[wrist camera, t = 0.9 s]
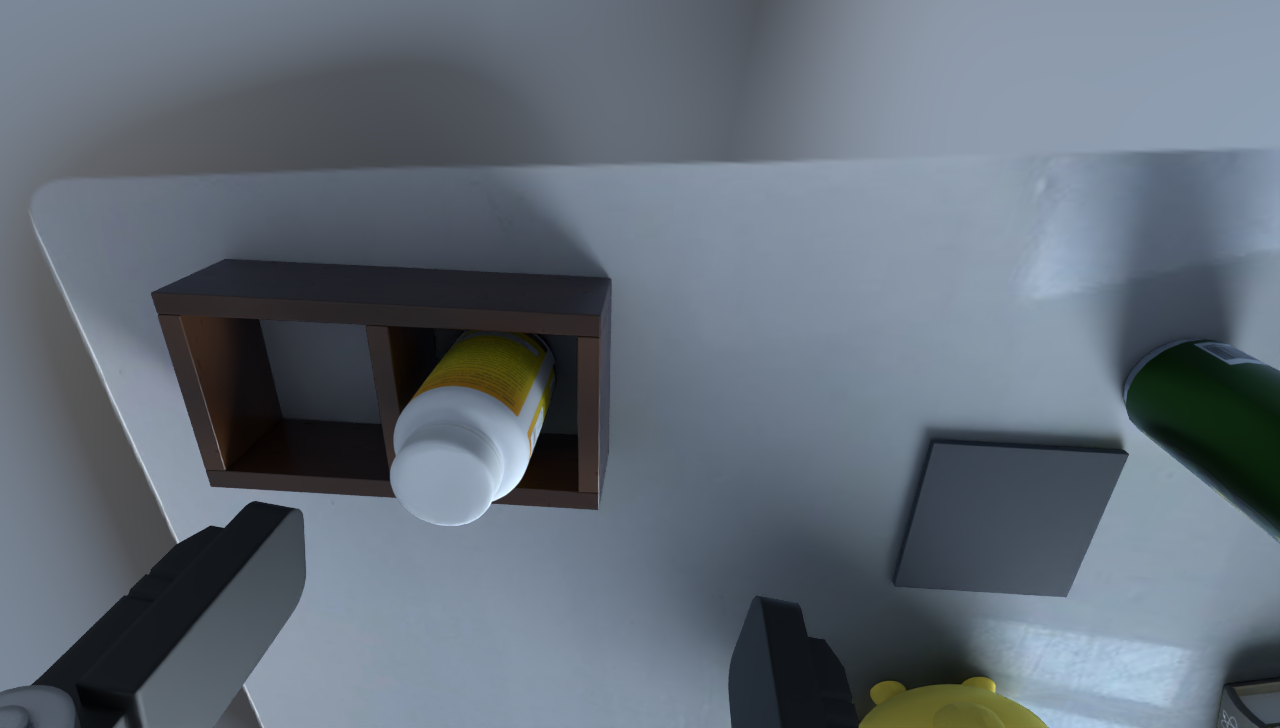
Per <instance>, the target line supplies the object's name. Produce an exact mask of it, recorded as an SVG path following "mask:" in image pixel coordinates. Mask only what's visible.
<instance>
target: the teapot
mask: <svg viewBox="0 0 1280 728" xmlns="http://www.w3.org/2000/svg"><path fill="white" fill-rule="evenodd" d="M870 696H871V698H872V700H873V701H874V702H875V704H876V705H877V706H876V707H875V708H873V709H872V710H871V711H870V712H869V713H868V714H867V715H866V716H865V718H864V719H863V720H862V721H861V723H860V724H859V728H1048V726H1047V725H1046V724H1045V723H1044V722H1043V721H1042V720H1041V719H1040V718H1039V717H1038V716H1036V715H1035V714H1034V713H1033V712H1031V711H1030V710H1029V709H1027V708H1025V707H1023V706H1022V705H1020V704H1018V703H1016V702H1014V701H1012V700H1010V699H1008V698H1006V697H1003V696H1001V695H999V694H996V693H995V683H994V682H993V681H992V680H991V679H989V678H986V677H973V678H970V679H968V680H966V681H964V682H963V683H962V684H961V685H958V684H940V685H930V686H924V687H919V688H915V689H911V690H907V691H906V689H905V687H904V686H903V685H902V684H901V683H899V682H896V681H884V682H880V683H878V684H876V685H875V686H874V687H873V688H872V689H871V691H870Z"/></svg>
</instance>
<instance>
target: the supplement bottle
mask: <svg viewBox="0 0 1280 728" xmlns="http://www.w3.org/2000/svg"><path fill="white" fill-rule="evenodd" d="M556 381H557V368H556V363H555V360H554V357H553V354H552V352H551V350H550V349H549V347H548V346H547V344H546V343H545V342H544V341H543V340H542V339H541V338H540V337H539V336H538V335H537V334H534V333H515V332H496V331H477V330H466V331H465V332H464V333H462V334H461V335H460V336H459V338H458V339H457V340H456V341H455V342H454V343H453V345H452V346H451V348H450V349H449V350H448V352H447V353H446V354H445V356H444V357H443V358H442V360H441V361H440V362H439V363H438V365H437V366H436V367H435V369H434V370H433V371H432V373H431V374H430V375H429V376H428V378H427V379H426V380H425V382H424V383H423V384H422V386H421V387H420V389H419V390H418V391H417V392H416V394H415V395H414V396H413V398H412V399H411V400H410V402H409V403H408V404H407V406H406V407H405V409H404V410H403V411H402V413H401V415H400V416H399V418H398V420H397V423H396V426H395V430H394V450H395V454H396V457H395V459H394V461H393V463H392V466H391V470H390V482H391V486H392V489H393V492H394V494H395V496H396V498H397V499H398V501H399V502H400V503H401V504H402V505H403V506H404V507H405V508H406V509H407V510H408V511H409V512H410V513H412V514H413V515H415V516H416V517H418V518H420V519H422V520H424V521H427V522H429V523H432V524H436V525H443V526H457V525H463V524H466V523H469V522H472V521H474V520H476V519H477V518H479V517H480V516H481V515H482V514H484V513H485V511H486V510H487V509H488V508H489V506H490V504H491V502H492V501H495V500H497V499H499V498H501V497H503V496H505V495H506V494H508V493H509V492H510V491H511V490H512V489H514V488H515V486H516V485H517V484H518V483H519V482H520V480H521V479H522V477H523V475H524V473H525V471H526V469H527V466H528V463H529V460H530V458H531V455H532V452H533V449H534V446H535V444H536V441H537V438H538V436H539V433H540V430H541V427H542V424H543V421H544V419H545V416H546V413H547V410H548V407H549V405H550V401H551V399H552V396H553V393H554V389H555V386H556Z"/></svg>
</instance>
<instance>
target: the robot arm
mask: <svg viewBox="0 0 1280 728" xmlns="http://www.w3.org/2000/svg"><path fill="white" fill-rule="evenodd" d="M305 579H306V562H305V540H304V519H303V514H302V512H301V510H299V509H295V508H290V507H285V506H279V505H274V504H268V503H263V502H258V501H253V502H251V503H249V504H248V505H246V506H245V507H244V508H243V509H242V510H241V511H240V512H239V513H238V514H237V515H236V516H235V518H234V519H233V520H232V521H231V522H230V523H229V524H228V525H227V526H226V527H225V528H221V527H216V526H209V527H207V528H205V529H204V530H202V531H200V532H198V533H196V534H195V535H193V536H191V537H189V538H187V539H186V540H184V541H182V542H180V543H178V544H176V545H175V546H174V547H173V548H172V549H171V550H170V551H169V552H168V553H167V554H166V555H165V556H164V557H163V558H162V559H161V560H160V561H159V562H158V563H157V564H156V565H155V566H154V567H153V568H152V569H151V572H150V574H149V575H147V574H146V575H145V576H144V577H143V578H142V579H141V580H139V581H138V583H136V585H134V586H133V588H131V589H130V592H129V594H128V595H127V596H123V597H122V598H121V599H120V600H119V601H118V602H117V603H116V604H115V605H114V606H113V607H112V608H111V609H110V610H109V611H108V612H107V613H106V614H105V615H104V616H103V617H102V618H100V619H99V620H98V621H97V622H96V623H95V624H94V625H93V627H91V628H90V629H89V630H88V631H87V632H86V633H85V634H84V635H83V636H82V637H81V638H80V639H79V640H78V641H77V642H76V643H75V644H74V645H73V646H72V647H71V648H70V649H69V650H68V651H67V652H66V653H65V654H64V655H62V657H60V659H58V660H57V661H56V662H55V663H54V664H53V665H52V666H51V667H50V668H49V669H48V670H47V671H46V672H45V673H44V674H43V675H42V676H41V677H40V678H39V679H37V680H36V681H35V682H34V683H33V684H32V685H30V686H23V687H17V688H13V689H9V690H5V691H2V692H0V728H213V727H214V726H215V725H216V723H217V722H218V720H219V719H220V717H221V716H222V714H223V713H224V712H225V710H226V709H227V707H228V706H229V704H230V703H231V701H232V700H233V699H234V697H235V696H236V694H237V693H238V691H239V690H240V688H241V687H242V685H243V684H244V683H245V681H246V680H247V678H248V677H249V675H250V674H251V672H252V671H253V670H254V668H255V667H256V665H257V664H258V662H259V661H260V659H261V658H262V657H263V655H264V654H265V652H266V651H267V649H268V648H269V646H270V645H271V643H272V642H273V641H274V639H275V638H276V636H277V635H278V633H279V632H280V630H281V629H282V628H283V626H284V625H285V623H286V622H287V620H288V619H289V617H290V616H291V614H292V613H293V611H294V610H295V608H296V606H297V604H298V602H299V600H300V597H301V595H302V592H303V589H304V585H305ZM728 689H729V702H730V714H731V726H732V728H859V720H858V716H857V713H856V709H855V705H854V703H852V695H851V691H850V687H849V684H848V680H847V677H846V673H845V669H844V667H843V665H842V664H841V662H840V661H839V659H838V658H837V656H836V655H835V653H834V652H833V650H832V649H831V648H830V646H829V645H828V643H827V642H826V640H824V639H818V638H813V637H808V635H807V631H806V627H805V622H804V618H803V613H802V610H801V607H800V605H799V604H798V603H795V602H790V601H784V600H779V599H774V598H768V597H763V596H755V597H754V598H753V600H752V602H751V605H750V608H749V610H748V613H747V616H746V619H745V621H744V624H743V627H742V629H741V632H740V635H739V638H738V640H737V643H736V646H735V648H734V651H733V654H732V658H731V663H730V669H729V683H728Z"/></svg>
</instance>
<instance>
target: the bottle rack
mask: <svg viewBox="0 0 1280 728" xmlns="http://www.w3.org/2000/svg"><path fill="white" fill-rule="evenodd" d="M611 287H612V280H611V278H599V277H579V276H559V275H539V274H518V273H498V272H478V271H458V270H437V269H417V268H397V267H377V266H357V265H336V264H316V263H296V262H276V261H255V260H235V259H224V260H222V261H220V262H218V263H215V264H213V265H211V266H209V267H207V268H204V269H202V270H200V271H198V272H195V273H193V274H191V275H189V276H187V277H184V278H182V279H180V280H178V281H175V282H173V283H171V284H169V285H167V286H164V287H162V288H160V289H158V290H156V291H153V292H151V296H152V299H153V302H154V305H155V308H156V312H157V313H158V319H159V322H160V325H161V328H162V331H163V335H164V338H165V341H166V344H167V347H168V351H169V354H170V357H171V360H172V363H173V367H174V370H175V373H176V376H177V379H178V383H179V386H180V389H181V392H182V395H183V399H184V402H185V405H186V408H187V411H188V415H189V418H190V421H191V424H192V427H193V431H194V434H195V437H196V440H197V443H198V447H199V450H200V453H201V456H202V459H203V463H204V466H205V469H206V473H207V476H208V479H209V482H210V485H211V487H226V488H242V489H259V490H276V491H292V492H309V493H325V494H342V495H359V496H375V497H392V498H396V496H395V494H394V492H393V489H392V486H391V482H390V470H391V466H392V463H393V461H394V459H395V457H396V454H395V450H394V430H395V426H396V423H397V420H398V418H399V416H400V415H401V413H402V411H403V410H404V409H405V407H406V406H407V404H408V403H409V402H410V400H411V399H412V398H413V396H414V395H415V394H416V392H417V391H418V390H419V389H420V387H421V386H422V384H423V383H424V382H425V380H426V379H427V378H428V376H429V375H430V374H431V373H432V371H433V370H434V369H435V367H436V366H437V361H436V352H435V343H434V335H433V328H438V329H458V330H477V331H496V332H515V333H534V334H553V335H573V336H577V385H578V436H577V435H559V434H542V433H539V436H538V438H537V441H536V444H535V446H534V449H533V452H532V455H531V458H530V460H529V463H528V466H527V469H526V471H525V473H524V475H523V477H522V479H521V480H520V482H519V483H518V484H517V485H516V486H515V488H514V489H512V490H511V491H510V492H509V493H508V494H506V495H505V496H503V497H501V498H499V499H497V500H495V501H492V502H491V504H508V505H525V506H541V507H558V508H574V509H591V510H599V507H600V501H601V495H602V489H603V483H604V478H605V472H606V466H607V460H608V454H609V408H610V348H611ZM259 319H266V320H285V321H304V322H324V323H343V324H362V325H366V331H367V337H368V344H369V350H370V356H371V362H372V368H373V374H374V380H375V387H376V393H377V399H378V405H379V411H380V417H381V424H366V423H348V422H331V421H313V420H295V419H282V415H281V411H280V407H279V403H278V399H277V394H276V390H275V386H274V382H273V378H272V374H271V369H270V365H269V361H268V357H267V353H266V349H265V344H264V340H263V336H262V332H261V328H260V324H259Z"/></svg>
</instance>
